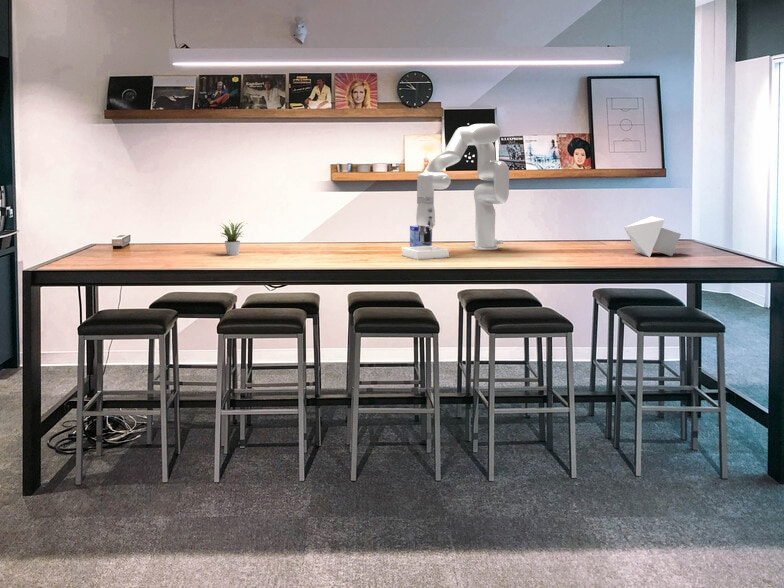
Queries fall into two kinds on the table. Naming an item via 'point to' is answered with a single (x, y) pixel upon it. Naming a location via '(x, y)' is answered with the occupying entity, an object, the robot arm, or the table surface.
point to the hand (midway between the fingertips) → (424, 241)
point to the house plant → (232, 239)
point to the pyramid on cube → (652, 236)
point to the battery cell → (422, 235)
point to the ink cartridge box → (417, 237)
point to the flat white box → (425, 252)
